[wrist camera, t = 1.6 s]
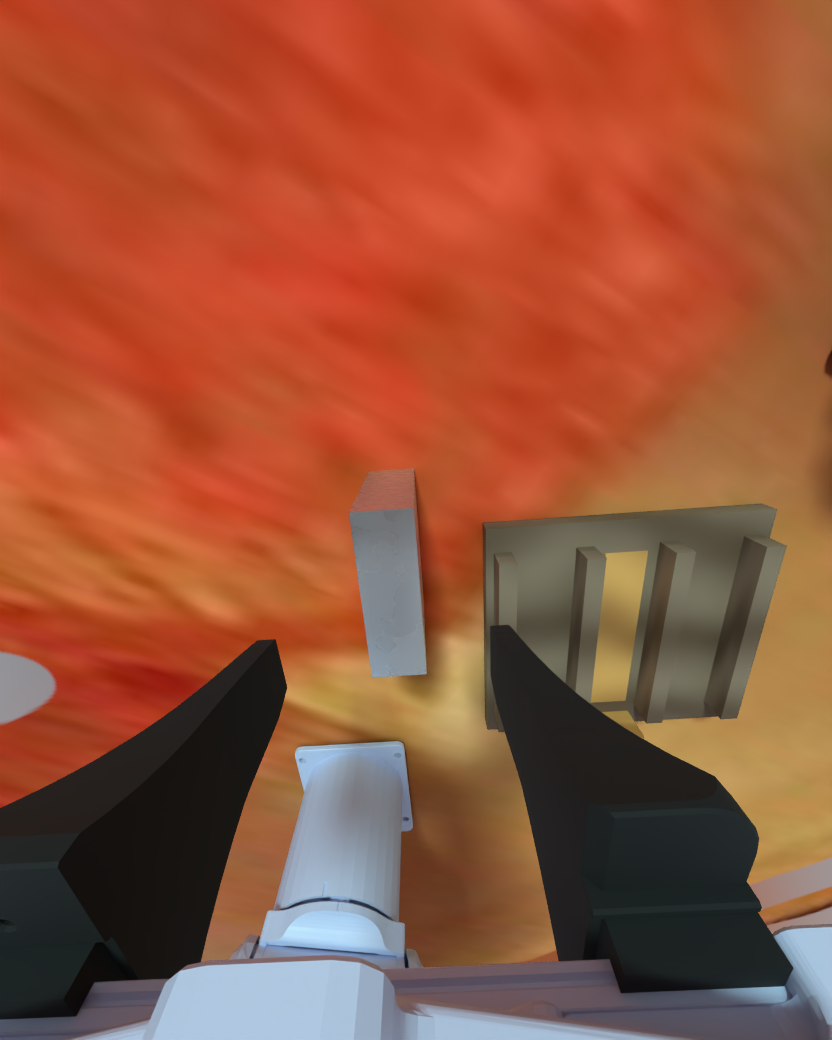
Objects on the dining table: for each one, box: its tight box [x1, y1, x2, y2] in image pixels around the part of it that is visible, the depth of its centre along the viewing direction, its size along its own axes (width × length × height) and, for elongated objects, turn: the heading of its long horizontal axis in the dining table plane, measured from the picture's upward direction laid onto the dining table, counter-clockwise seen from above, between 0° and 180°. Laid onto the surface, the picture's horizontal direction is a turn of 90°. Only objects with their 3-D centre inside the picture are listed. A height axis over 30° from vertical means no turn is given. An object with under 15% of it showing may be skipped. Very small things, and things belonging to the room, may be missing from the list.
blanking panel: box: [349, 468, 427, 677], centre depth 19 cm, size 8×2×7 cm, turn 4°
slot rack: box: [483, 504, 786, 739], centre depth 23 cm, size 15×16×3 cm
